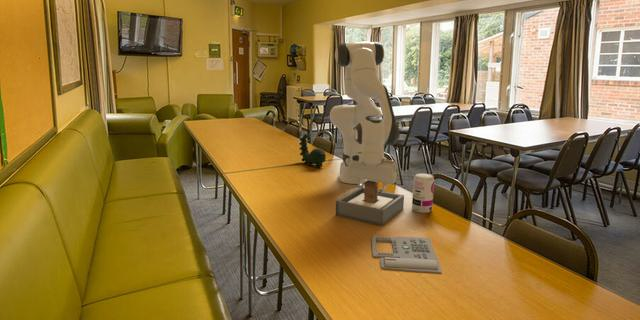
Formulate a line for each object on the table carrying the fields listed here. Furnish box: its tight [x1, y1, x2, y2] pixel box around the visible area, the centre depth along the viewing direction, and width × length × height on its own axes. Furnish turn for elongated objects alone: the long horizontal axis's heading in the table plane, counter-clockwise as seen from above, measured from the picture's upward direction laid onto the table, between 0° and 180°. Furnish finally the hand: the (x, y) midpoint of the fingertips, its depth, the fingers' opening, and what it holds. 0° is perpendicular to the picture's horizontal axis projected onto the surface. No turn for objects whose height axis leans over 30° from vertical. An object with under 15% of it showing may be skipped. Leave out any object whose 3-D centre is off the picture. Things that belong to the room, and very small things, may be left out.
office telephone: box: [371, 235, 443, 274], centre depth 130 cm, size 23×3×20 cm
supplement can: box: [411, 172, 435, 214], centre depth 167 cm, size 8×8×15 cm
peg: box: [364, 180, 379, 204], centre depth 165 cm, size 4×4×12 cm
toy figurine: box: [298, 133, 327, 169], centre depth 239 cm, size 9×19×25 cm
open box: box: [335, 187, 405, 227], centre depth 166 cm, size 22×20×6 cm
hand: (371, 190), depth 164 cm, fingers open, 8 cm apart
